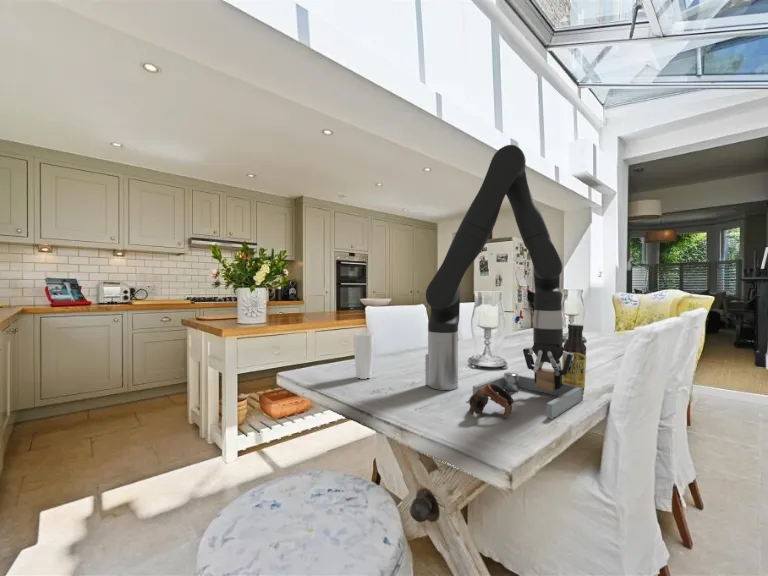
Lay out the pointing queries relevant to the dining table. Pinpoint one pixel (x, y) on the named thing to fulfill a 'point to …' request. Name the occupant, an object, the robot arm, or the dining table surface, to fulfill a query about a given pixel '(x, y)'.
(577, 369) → the sauce bottle
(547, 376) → the block
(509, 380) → the peg
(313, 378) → the dining table surface
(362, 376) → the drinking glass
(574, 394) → the corral
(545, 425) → the dining table surface
